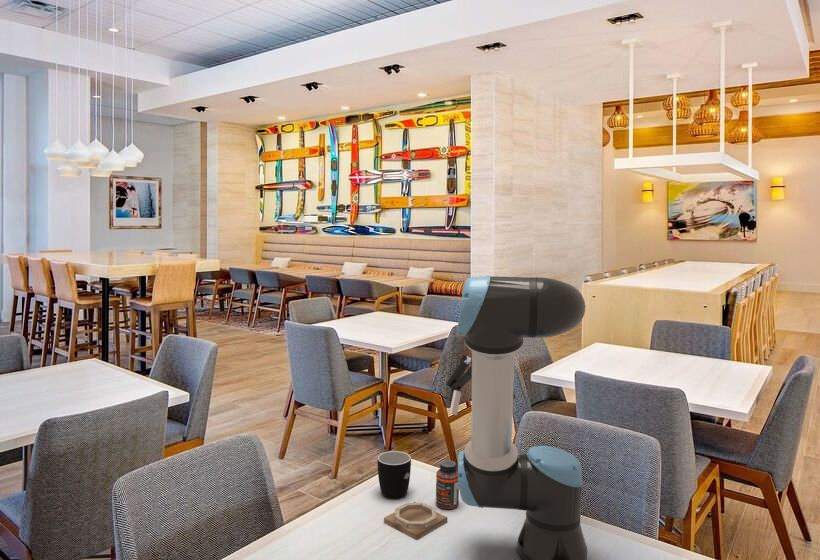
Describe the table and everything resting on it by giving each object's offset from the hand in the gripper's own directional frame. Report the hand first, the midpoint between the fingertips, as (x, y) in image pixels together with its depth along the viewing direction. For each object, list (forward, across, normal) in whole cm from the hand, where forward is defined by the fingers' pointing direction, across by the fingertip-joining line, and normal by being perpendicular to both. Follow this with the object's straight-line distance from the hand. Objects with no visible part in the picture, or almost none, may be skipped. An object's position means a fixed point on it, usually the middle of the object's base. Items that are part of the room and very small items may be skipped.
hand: (473, 419), depth 156 cm
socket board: (+27, +3, +13) cm, 30 cm away
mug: (+23, +17, +4) cm, 29 cm away
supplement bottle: (+23, +2, +2) cm, 23 cm away
